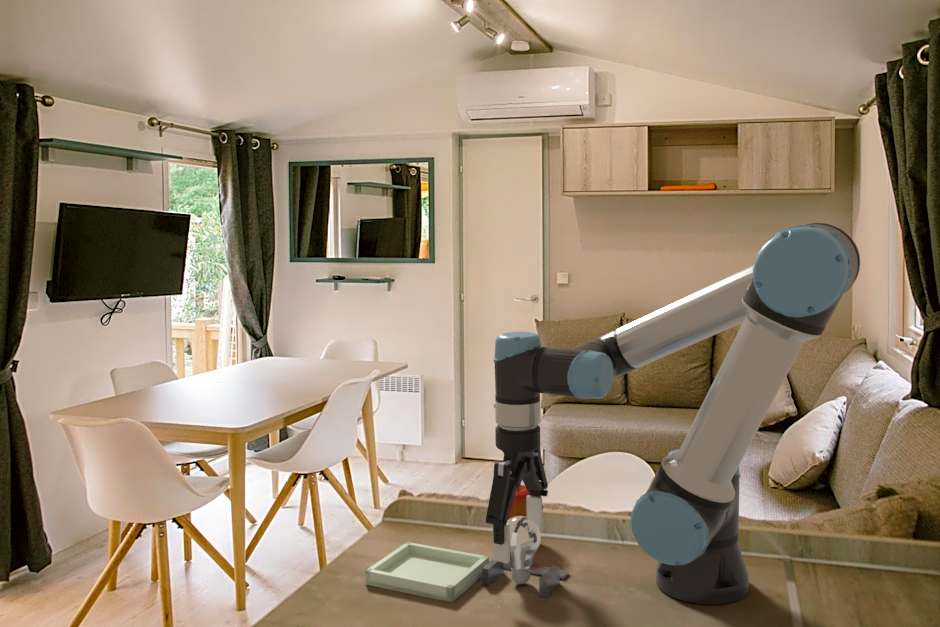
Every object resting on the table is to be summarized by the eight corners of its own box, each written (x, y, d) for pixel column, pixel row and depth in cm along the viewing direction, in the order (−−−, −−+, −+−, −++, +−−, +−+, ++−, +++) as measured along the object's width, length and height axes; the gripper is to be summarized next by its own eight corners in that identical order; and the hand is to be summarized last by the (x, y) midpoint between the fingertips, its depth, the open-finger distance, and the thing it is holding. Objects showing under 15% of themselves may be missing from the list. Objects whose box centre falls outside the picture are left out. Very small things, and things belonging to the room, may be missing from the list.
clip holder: (568, 574, 155) (568, 557, 155) (546, 597, 146) (546, 580, 146) (506, 562, 160) (506, 547, 160) (481, 584, 152) (481, 568, 151)
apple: (496, 553, 165) (494, 491, 163) (493, 534, 174) (492, 475, 172) (545, 551, 165) (544, 489, 164) (540, 533, 174) (540, 474, 172)
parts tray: (489, 570, 158) (489, 556, 157) (451, 602, 145) (451, 588, 145) (407, 554, 165) (407, 541, 165) (365, 584, 153) (365, 570, 153)
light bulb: (538, 594, 147) (537, 525, 146) (497, 591, 149) (496, 523, 147) (543, 576, 154) (542, 510, 153) (504, 574, 156) (502, 508, 154)
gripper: (527, 406, 161) (527, 518, 163) (463, 441, 139) (465, 570, 142) (565, 410, 157) (565, 524, 160) (506, 446, 135) (507, 578, 138)
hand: (518, 546), depth 151 cm, fingers open, 13 cm apart
